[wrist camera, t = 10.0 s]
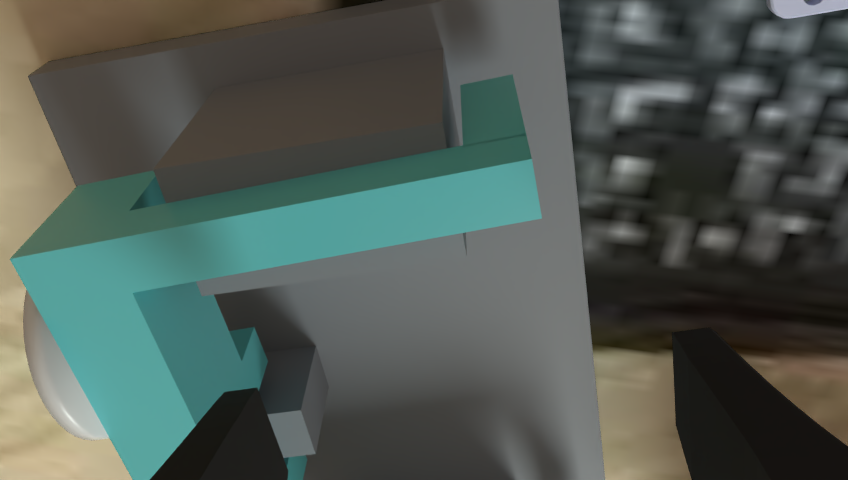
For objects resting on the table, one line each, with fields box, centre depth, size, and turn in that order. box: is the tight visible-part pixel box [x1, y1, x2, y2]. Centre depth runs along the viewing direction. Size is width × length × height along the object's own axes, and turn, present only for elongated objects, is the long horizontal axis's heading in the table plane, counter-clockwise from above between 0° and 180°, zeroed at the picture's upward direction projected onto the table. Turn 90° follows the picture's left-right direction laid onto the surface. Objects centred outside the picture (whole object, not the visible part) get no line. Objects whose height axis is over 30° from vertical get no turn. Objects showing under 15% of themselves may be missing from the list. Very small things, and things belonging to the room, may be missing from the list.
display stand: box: [28, 0, 605, 480], centre depth 22 cm, size 13×20×6 cm, turn 10°
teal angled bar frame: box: [10, 74, 542, 480], centre depth 20 cm, size 10×16×5 cm, turn 13°
